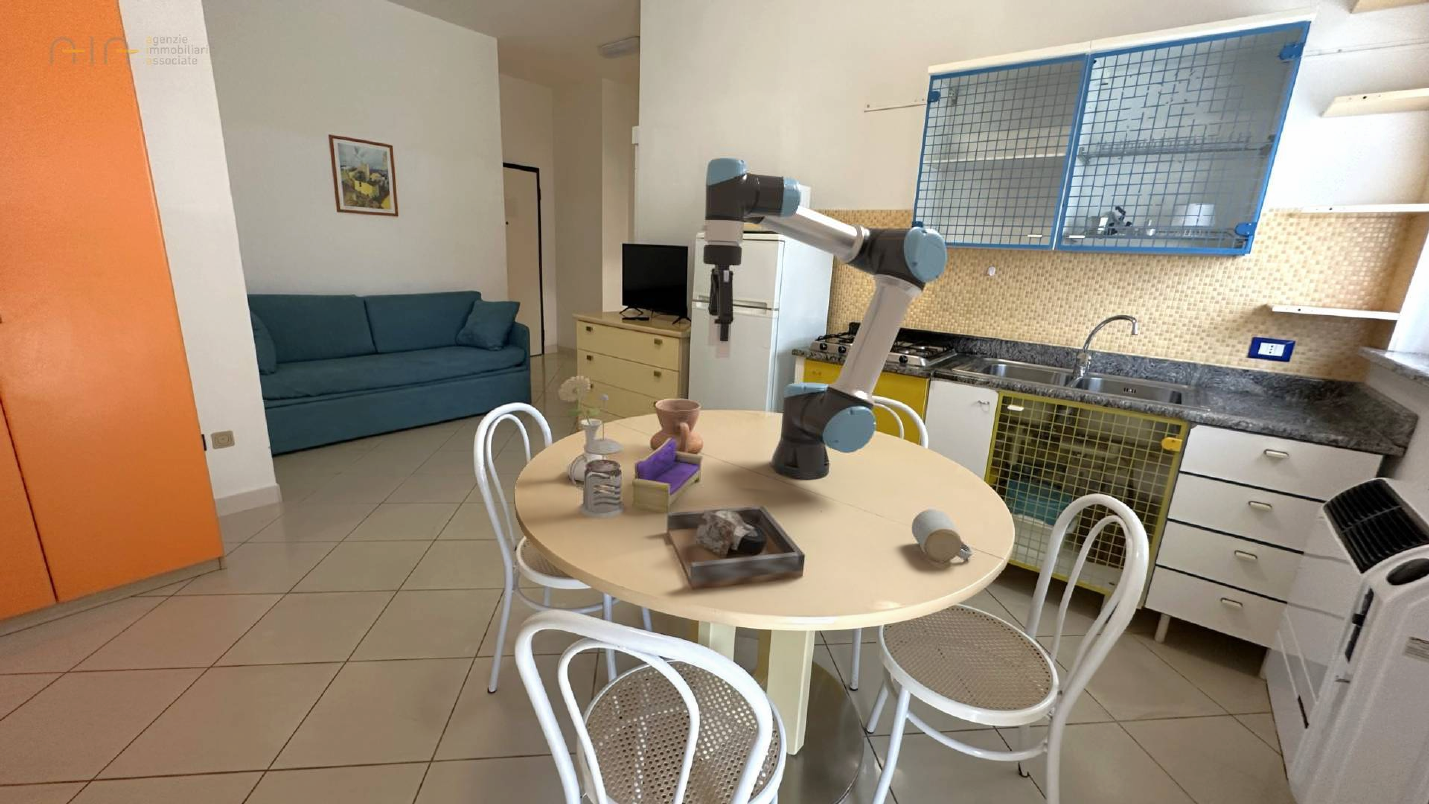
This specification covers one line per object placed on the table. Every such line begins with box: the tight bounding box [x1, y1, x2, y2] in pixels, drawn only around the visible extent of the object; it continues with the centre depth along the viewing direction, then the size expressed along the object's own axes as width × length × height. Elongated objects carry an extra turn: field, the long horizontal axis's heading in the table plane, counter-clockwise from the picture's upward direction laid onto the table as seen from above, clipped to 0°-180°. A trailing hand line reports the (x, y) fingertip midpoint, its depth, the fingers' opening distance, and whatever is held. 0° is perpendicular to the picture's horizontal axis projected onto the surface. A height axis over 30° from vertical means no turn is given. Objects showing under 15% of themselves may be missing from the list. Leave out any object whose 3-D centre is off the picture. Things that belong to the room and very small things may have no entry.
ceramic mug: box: [911, 508, 973, 562], centre depth 110 cm, size 11×8×8 cm
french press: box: [569, 393, 627, 519], centre depth 118 cm, size 10×12×25 cm
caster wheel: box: [694, 509, 768, 558], centre depth 106 cm, size 7×11×10 cm
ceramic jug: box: [649, 398, 704, 455], centre depth 155 cm, size 18×14×14 cm
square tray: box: [666, 505, 806, 590], centre depth 106 cm, size 20×20×4 cm
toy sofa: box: [631, 438, 703, 514], centre depth 130 cm, size 21×9×10 cm, turn 161°
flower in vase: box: [557, 375, 611, 482], centre depth 134 cm, size 13×11×25 cm
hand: (718, 351), depth 117 cm, fingers open, 13 cm apart
